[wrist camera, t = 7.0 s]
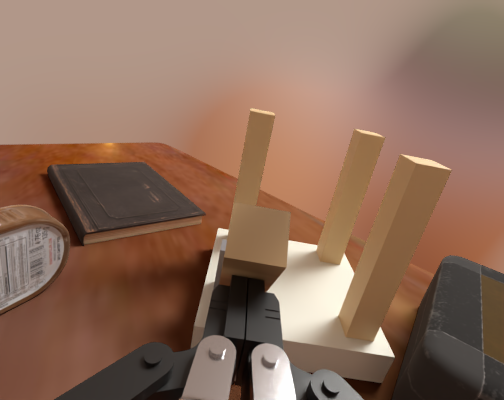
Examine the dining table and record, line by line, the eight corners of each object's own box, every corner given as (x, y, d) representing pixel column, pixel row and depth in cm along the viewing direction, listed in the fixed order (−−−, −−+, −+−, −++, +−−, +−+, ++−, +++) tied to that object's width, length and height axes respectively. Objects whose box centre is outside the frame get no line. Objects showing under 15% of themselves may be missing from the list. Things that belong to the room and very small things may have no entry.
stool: (184, 373, 23) (220, 134, 16) (215, 248, 39) (239, 104, 32) (390, 403, 24) (506, 190, 17) (335, 269, 40) (383, 133, 33)
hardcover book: (144, 173, 60) (144, 161, 59) (203, 227, 45) (205, 213, 44) (47, 178, 50) (46, 164, 49) (82, 250, 35) (81, 232, 34)
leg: (213, 316, 24) (224, 257, 11) (218, 286, 26) (234, 201, 13) (242, 320, 25) (286, 267, 12) (246, 290, 26) (290, 212, 13)
